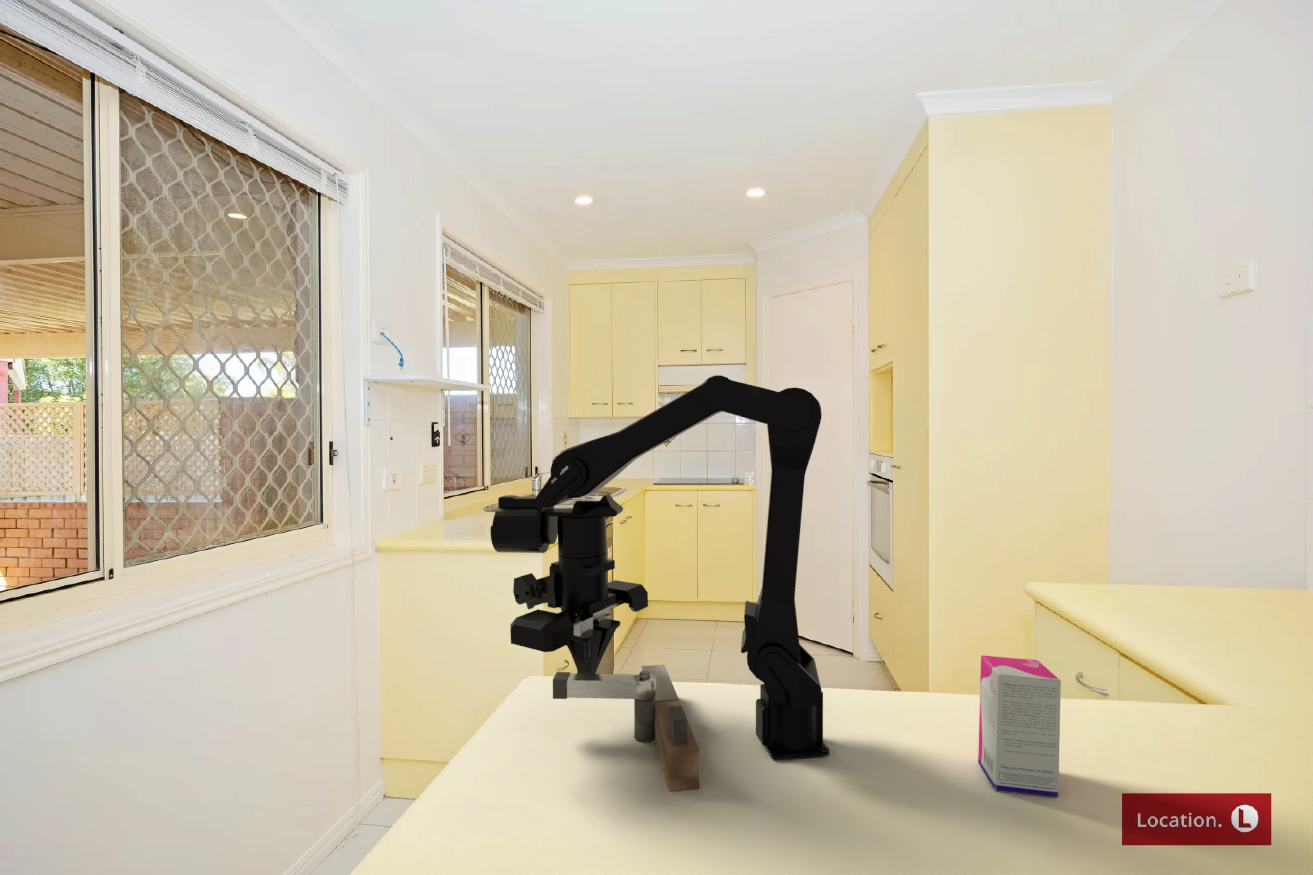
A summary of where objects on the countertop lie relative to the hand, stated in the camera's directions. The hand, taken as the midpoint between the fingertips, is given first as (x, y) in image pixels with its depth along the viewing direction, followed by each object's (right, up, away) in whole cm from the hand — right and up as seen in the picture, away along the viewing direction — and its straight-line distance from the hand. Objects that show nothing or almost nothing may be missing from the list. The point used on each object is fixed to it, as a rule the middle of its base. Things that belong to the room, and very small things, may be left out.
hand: (586, 683), depth 75 cm
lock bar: (+2, 0, -2) cm, 3 cm away
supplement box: (+45, -5, -11) cm, 46 cm away
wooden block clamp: (+8, -5, -2) cm, 10 cm away
